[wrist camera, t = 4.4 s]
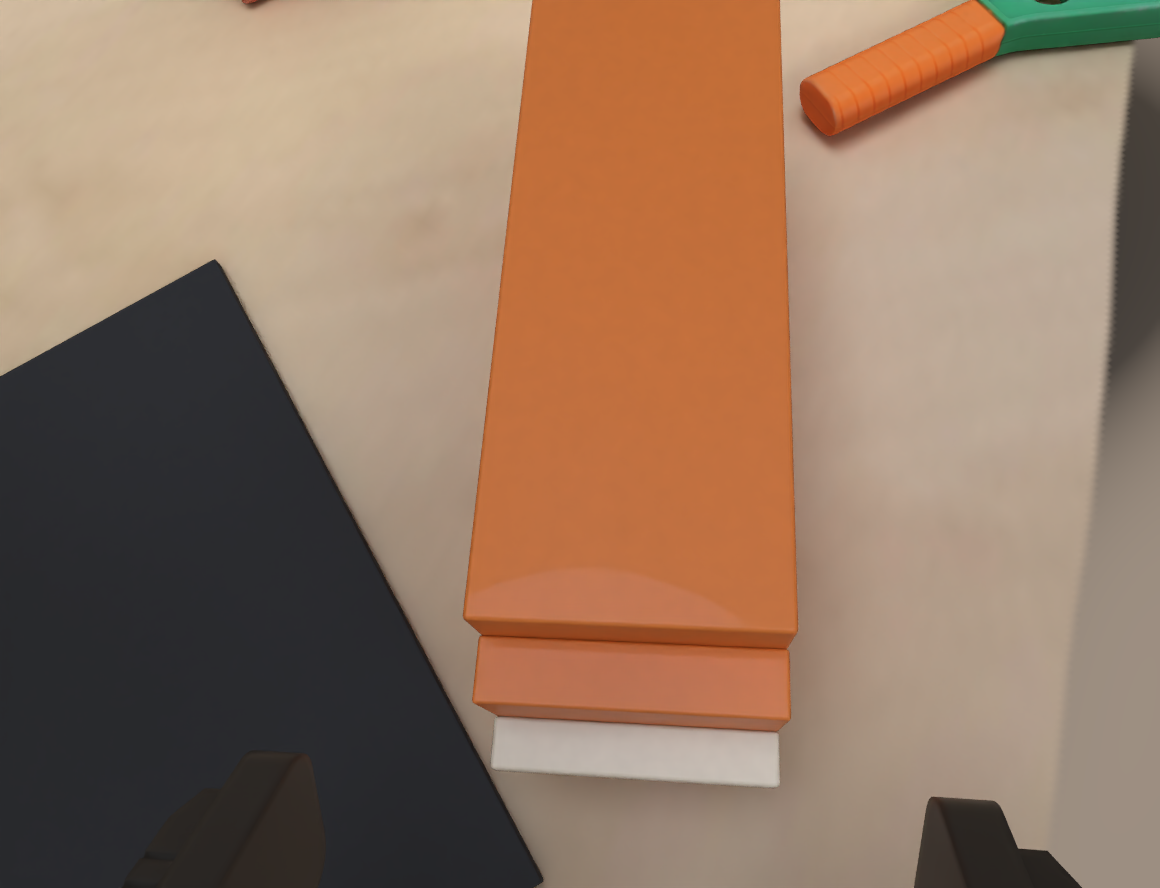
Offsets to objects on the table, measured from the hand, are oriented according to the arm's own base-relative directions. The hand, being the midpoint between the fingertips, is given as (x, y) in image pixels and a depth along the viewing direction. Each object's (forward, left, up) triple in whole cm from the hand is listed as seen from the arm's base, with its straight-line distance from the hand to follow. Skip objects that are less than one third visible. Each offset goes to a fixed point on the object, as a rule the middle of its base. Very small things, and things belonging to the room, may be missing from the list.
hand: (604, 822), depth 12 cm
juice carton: (-8, +5, -9) cm, 13 cm away
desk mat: (-10, -9, -9) cm, 17 cm away
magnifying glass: (-13, +23, -10) cm, 28 cm away
